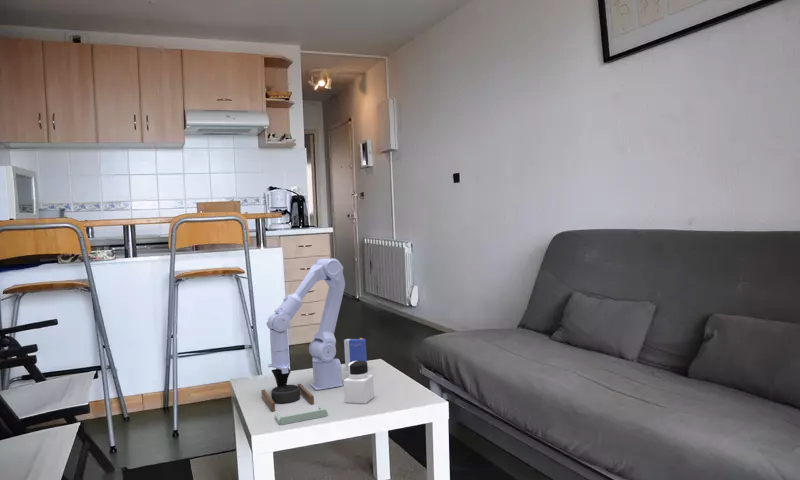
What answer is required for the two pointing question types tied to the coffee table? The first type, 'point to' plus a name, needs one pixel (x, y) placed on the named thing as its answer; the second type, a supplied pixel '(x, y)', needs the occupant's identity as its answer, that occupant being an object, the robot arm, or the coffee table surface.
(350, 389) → the medicine bottle
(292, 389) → the smart speaker
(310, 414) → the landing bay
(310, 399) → the chute
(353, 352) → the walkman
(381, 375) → the coffee table surface
